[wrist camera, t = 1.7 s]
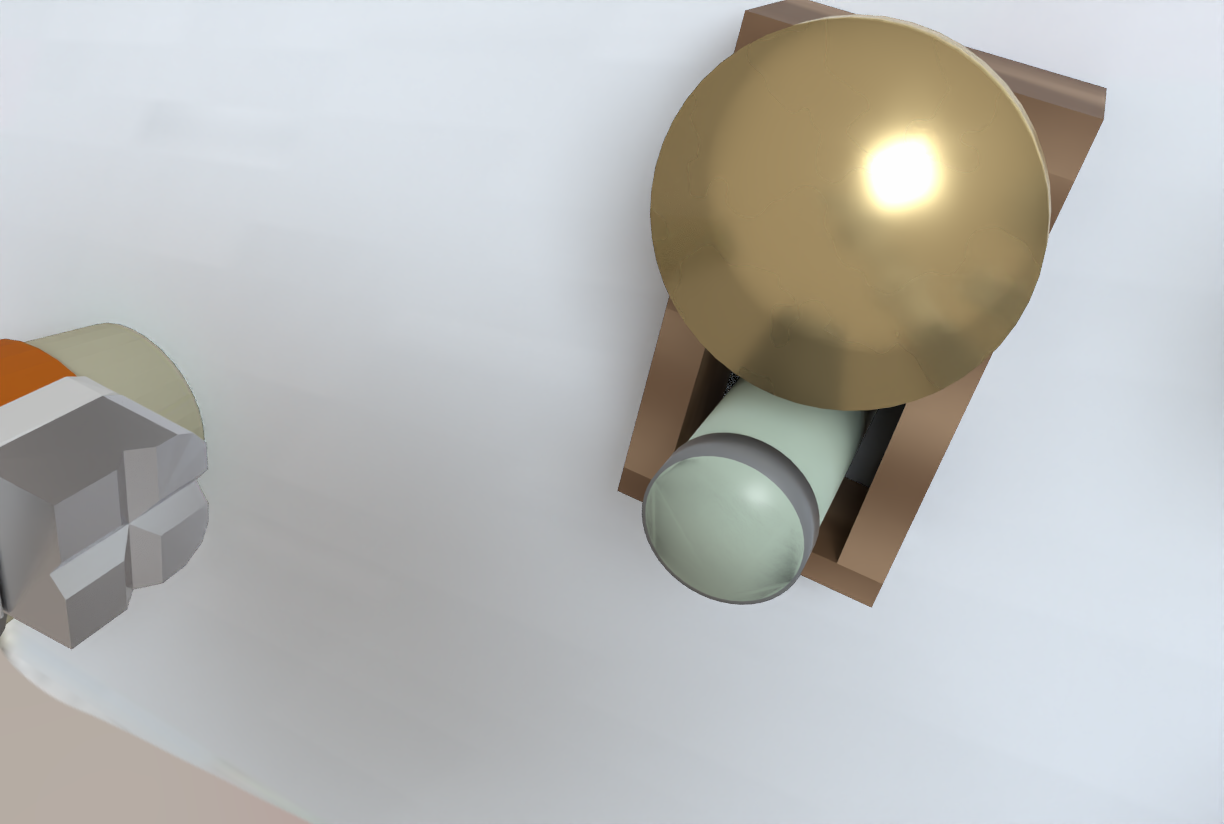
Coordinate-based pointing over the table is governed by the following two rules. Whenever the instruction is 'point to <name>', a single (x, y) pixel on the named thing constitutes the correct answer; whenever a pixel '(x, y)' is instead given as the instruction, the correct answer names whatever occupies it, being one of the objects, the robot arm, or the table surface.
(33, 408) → the robot arm
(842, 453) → the cartridge
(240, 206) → the table surface
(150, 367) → the reusable coffee cup
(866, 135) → the gold rounded dome
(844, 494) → the housing
